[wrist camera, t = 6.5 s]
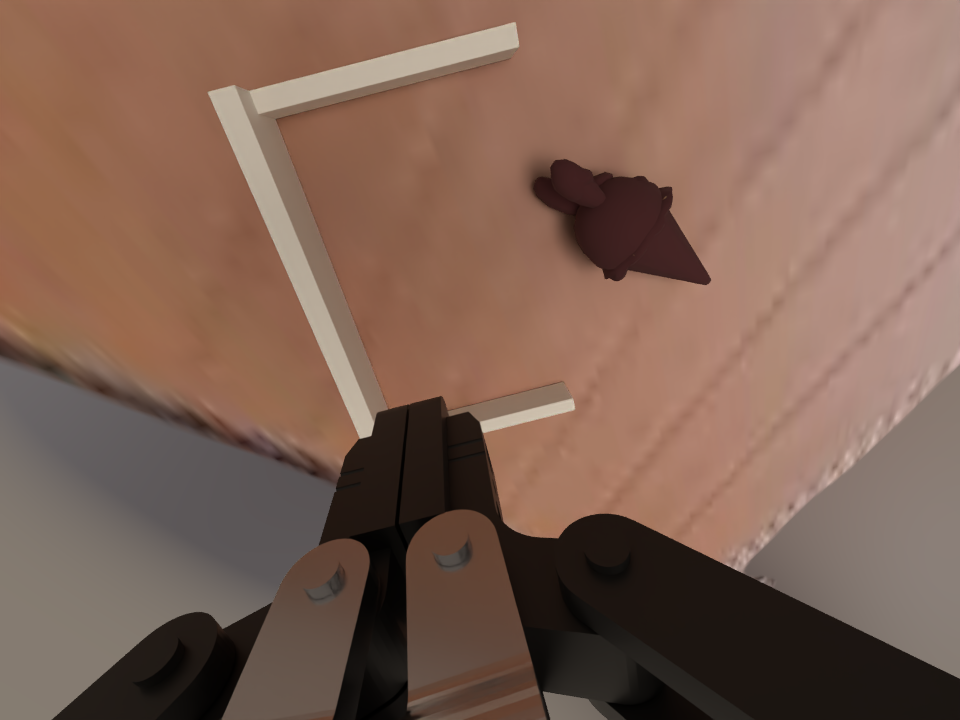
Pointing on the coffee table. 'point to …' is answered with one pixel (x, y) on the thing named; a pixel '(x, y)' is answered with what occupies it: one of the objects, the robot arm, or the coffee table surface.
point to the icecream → (622, 223)
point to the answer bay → (296, 229)
